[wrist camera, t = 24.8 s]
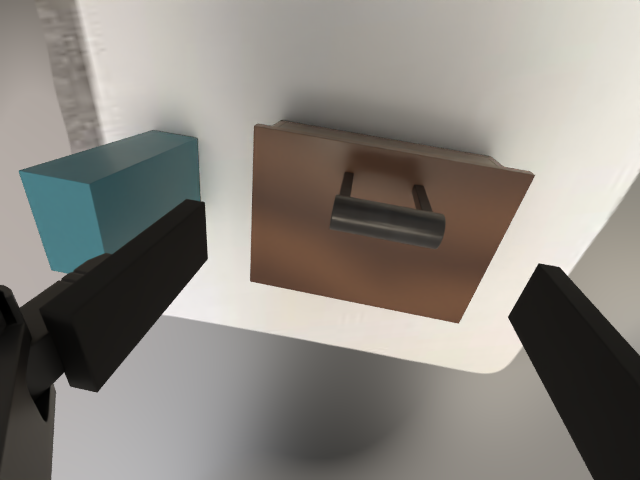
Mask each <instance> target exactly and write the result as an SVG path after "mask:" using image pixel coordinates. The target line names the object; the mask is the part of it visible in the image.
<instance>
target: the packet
mask: <svg viewBox="0 0 640 480" xmlns="http://www.w3.org/2000/svg"><path fill="white" fill-rule="evenodd" d="M19 174H20V177H21V180H22V183H23V186H24V189H25V192H26V195H27V198H28V201H29V204H30V207H31V210H32V213H33V216H34V219H35V222H36V225H37V228H38V231H39V234H40V237H41V240H42V243H43V246H44V249H45V252H46V255H47V258H48V261H49V264H50V267H51V270H53V271H58V272H63V273H67V274H69V273H70V272H73V270H74V269H76V268H77V267H79V266H80V265H81V264H83V263H84V262H86V261H87V260H89V259H92V258H94V257H97V256H99V255H102V254H104V253H109V254H113V253H114V252H116V251H117V250H118V249H120V248H121V247H122V246H124V245H125V244H127V243H128V242H129V241H131V240H132V239H133V238H135V237H136V236H137V235H139V234H140V233H141V232H143V231H144V230H145V229H147V228H148V227H149V226H151V225H152V224H153V223H155V222H156V221H157V220H159V219H160V218H161V217H163V216H164V215H165V214H167V213H168V212H169V211H171V210H172V209H173V208H175V207H176V206H177V205H179V204H180V203H182V202H183V201H184V200H186V199H190V200H196V201H200V184H199V163H198V141H197V138H194V137H189V136H183V135H178V134H172V133H167V132H161V131H155V130H152V131H148V132H145V133H142V134H138V135H135V136H132V137H129V138H125V139H122V140H119V141H115V142H112V143H109V144H105V145H102V146H99V147H95V148H92V149H89V150H85V151H82V152H79V153H76V154H72V155H69V156H66V157H62V158H59V159H56V160H53V161H49V162H46V163H42V164H39V165H36V166H33V167H29V168H26V169H23V170H19Z"/></svg>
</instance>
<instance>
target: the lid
mask: <svg viewBox="0 0 640 480" xmlns="http://www.w3.org/2000/svg"><path fill="white" fill-rule="evenodd" d="M534 176H535V175H534V174H533V173H531V172H530V171H525V170H519V169H514V168H508V167H502V166H496V165H491V164H485V163H479V162H474V161H468V160H462V159H457V158H451V157H445V156H439V155H434V154H428V153H422V152H417V151H411V150H405V149H400V148H394V147H388V146H382V145H377V144H371V143H365V142H360V141H354V140H348V139H343V138H337V137H331V136H325V135H320V134H314V133H308V132H303V131H297V130H291V129H285V128H280V127H274V126H268V125H263V124H256V125H255V126H254V148H253V188H252V229H251V269H250V281H251V282H256V283H261V284H266V285H271V286H276V287H281V288H286V289H291V290H296V291H300V292H305V293H310V294H315V295H320V296H325V297H330V298H335V299H340V300H345V301H350V302H355V303H360V304H365V305H370V306H375V307H380V308H385V309H390V310H394V311H399V312H404V313H409V314H414V315H419V316H424V317H429V318H434V319H439V320H444V321H449V322H454V323H459V322H460V320H461V318H462V316H463V314H464V312H465V310H466V309H467V307H468V305H469V303H470V301H471V299H472V297H473V295H474V293H475V291H476V289H477V287H478V285H479V283H480V281H481V279H482V277H483V275H484V274H485V272H486V270H487V268H488V266H489V264H490V262H491V260H492V258H493V256H494V254H495V252H496V250H497V248H498V246H499V244H500V242H501V240H502V239H503V237H504V235H505V233H506V231H507V229H508V227H509V225H510V223H511V221H512V219H513V217H514V215H515V213H516V211H517V209H518V207H519V206H520V204H521V202H522V200H523V198H524V196H525V194H526V192H527V190H528V188H529V186H530V184H531V182H532V180H533V178H534Z"/></svg>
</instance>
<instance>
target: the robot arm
mask: <svg viewBox="0 0 640 480" xmlns="http://www.w3.org/2000/svg"><path fill="white" fill-rule="evenodd" d="M207 259H208V254H207V235H206V216H205V202H201V201H196V200H190V199H186V200H184V201H183V202H182V203H180V204H179V205H177V206H176V207H175V208H173V209H172V210H171V211H169V212H168V213H167V214H165V215H164V216H163V217H161V218H160V219H159V220H157V221H156V222H155V223H153V224H152V225H151V226H149V227H148V228H147V229H145V230H144V231H143V232H141V233H140V234H139V235H137V236H136V237H135V238H133V239H132V240H131V241H129V242H128V243H127V244H125V245H124V246H122V247H121V248H120V249H118V250H117V251H116V252H114V253H113V254H109V253H104V254H102V255H99V256H97V257H94V258H92V259H89V260H87V261H86V262H84V263H83V264H81V265H80V266H79V267H77V268H76V269H74V270H73V272H70V273H69V274H67V275H66V276H64V277H63V278H62V280H61V281H57V282H56V283H54V284H53V285H52V286H50V287H49V288H47V289H46V290H44V291H43V292H42V293H40V294H39V295H38V296H36V297H35V298H33V299H32V300H30V301H29V302H27V303H26V304H25V305H23V306H22V307H20V308H19V306H18V304H17V302H16V299H15V297H14V295H13V293H12V290H11V289H9V288H8V287H6V286H4V285H0V480H51V472H52V453H53V435H54V416H55V398H56V391H55V388H54V384H53V383H54V382H55V381H56V380H57V379H58V378H59V377H60V376H61V375H62V374H63V373H64V372H65V375H66V377H67V379H68V382H69V385H70V386H71V387H75V388H79V389H84V390H88V391H93V392H98V391H99V390H100V389H101V387H102V386H103V385H104V384H105V382H106V381H107V380H108V379H109V378H110V376H111V375H112V374H113V373H114V372H115V370H116V369H117V368H118V367H119V366H120V364H121V363H122V362H123V361H124V359H125V358H126V357H127V356H128V355H129V354H130V352H131V351H132V350H133V349H134V347H135V346H136V345H137V344H138V343H139V341H140V340H141V339H142V338H143V337H144V335H145V334H146V333H147V332H148V331H149V329H150V328H151V327H152V326H153V325H154V323H155V322H156V321H157V320H158V319H159V317H160V316H161V315H162V314H163V312H164V311H165V310H166V309H167V308H168V306H169V305H170V304H171V303H172V302H173V300H174V299H175V298H176V297H177V296H178V294H179V293H180V292H181V291H182V290H183V288H184V287H185V286H186V285H187V283H188V282H189V281H190V280H191V279H192V277H193V276H194V275H195V274H196V273H197V271H198V270H199V269H200V268H201V267H202V265H203V264H204V263H205V262H206V261H207ZM508 318H509V320H510V322H511V324H512V326H513V328H514V330H515V331H516V333H517V335H518V337H519V339H520V341H521V343H522V345H523V347H524V349H525V350H526V352H527V354H528V356H529V358H530V360H531V361H532V364H533V366H534V367H535V369H536V371H537V373H538V375H539V377H540V379H541V381H542V383H543V384H544V386H545V388H546V390H547V392H548V394H549V396H550V398H551V400H552V401H553V403H554V405H555V407H556V409H557V411H558V413H559V415H560V417H561V419H562V420H563V422H564V424H565V426H566V428H567V430H568V432H569V434H570V435H571V438H572V439H573V441H574V443H575V445H576V447H577V449H578V451H579V453H580V454H581V456H582V458H583V460H584V462H585V464H586V466H587V468H588V470H589V471H590V473H591V475H592V477H593V479H594V480H640V356H639V354H638V353H637V352H636V351H635V350H634V349H633V348H632V347H631V346H630V345H629V344H628V342H627V341H626V340H625V339H624V338H623V337H622V336H621V335H620V333H619V332H618V331H617V330H616V329H615V328H614V327H613V326H612V325H611V324H610V322H609V321H608V320H607V319H606V318H605V317H604V316H603V315H602V314H601V313H600V311H599V310H598V309H597V308H596V307H595V306H594V305H593V304H592V303H591V301H590V300H589V299H588V298H587V297H586V296H585V295H584V294H583V293H582V291H581V290H580V289H579V288H578V287H577V286H576V285H575V284H574V283H573V282H572V280H570V278H569V277H568V276H567V275H566V274H565V273H564V272H563V270H562V269H561V268H560V267H556V266H550V265H545V264H538V266H537V267H536V269H535V271H534V273H533V274H532V276H531V278H530V280H529V281H528V283H527V285H526V287H525V288H524V290H523V292H522V294H521V295H520V297H519V299H518V301H517V302H516V304H515V306H514V307H513V309H512V311H511V313H510V314H509V316H508Z"/></svg>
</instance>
